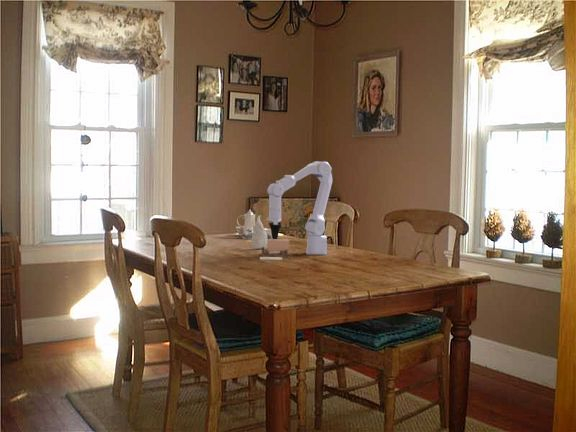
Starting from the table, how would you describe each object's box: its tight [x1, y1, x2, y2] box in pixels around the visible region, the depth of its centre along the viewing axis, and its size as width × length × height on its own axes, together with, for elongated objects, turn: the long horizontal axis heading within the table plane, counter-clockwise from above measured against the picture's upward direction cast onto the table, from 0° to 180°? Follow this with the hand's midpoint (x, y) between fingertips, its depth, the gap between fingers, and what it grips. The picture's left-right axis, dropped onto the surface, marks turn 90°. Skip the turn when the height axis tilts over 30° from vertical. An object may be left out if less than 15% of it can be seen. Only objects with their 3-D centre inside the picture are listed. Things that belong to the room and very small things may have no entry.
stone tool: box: [250, 219, 268, 250], centre depth 342 cm, size 9×3×15 cm, turn 111°
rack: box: [261, 247, 289, 258], centre depth 322 cm, size 12×9×3 cm
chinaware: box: [233, 209, 273, 240], centre depth 387 cm, size 28×17×17 cm, turn 66°
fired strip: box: [259, 256, 283, 261], centre depth 312 cm, size 10×4×1 cm, turn 88°
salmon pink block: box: [266, 238, 290, 252], centre depth 321 cm, size 10×4×5 cm, turn 94°
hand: (274, 238), depth 322 cm, fingers open, 3 cm apart
